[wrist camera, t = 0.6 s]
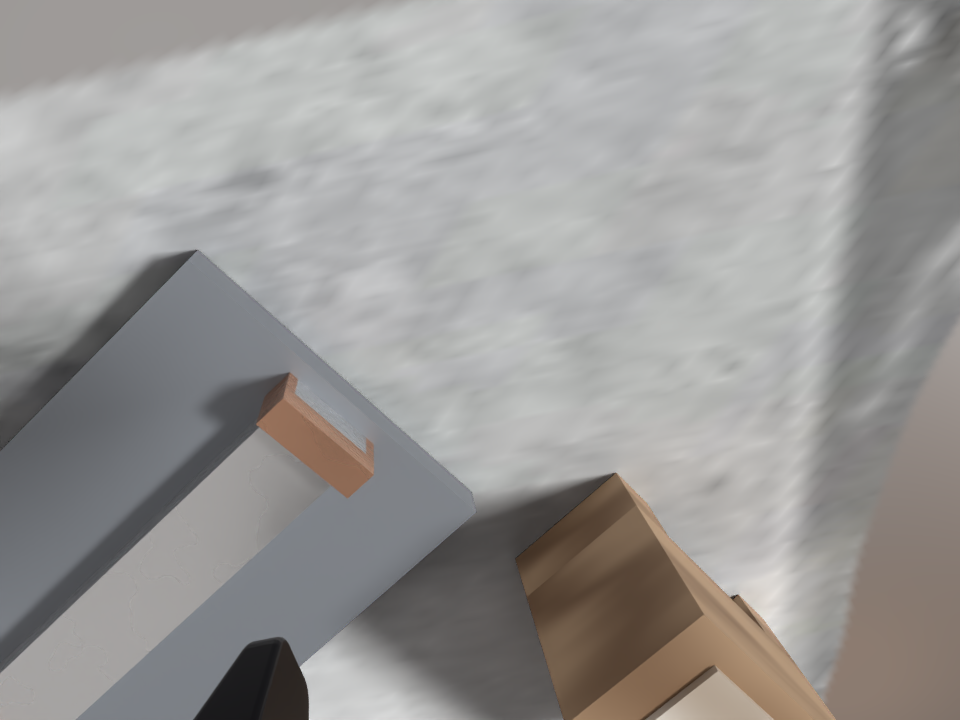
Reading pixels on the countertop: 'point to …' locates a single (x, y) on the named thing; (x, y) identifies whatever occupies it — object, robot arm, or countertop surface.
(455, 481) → the mounting plate
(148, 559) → the copper ended bar
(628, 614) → the rail module
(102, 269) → the countertop surface
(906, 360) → the countertop surface
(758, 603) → the countertop surface
